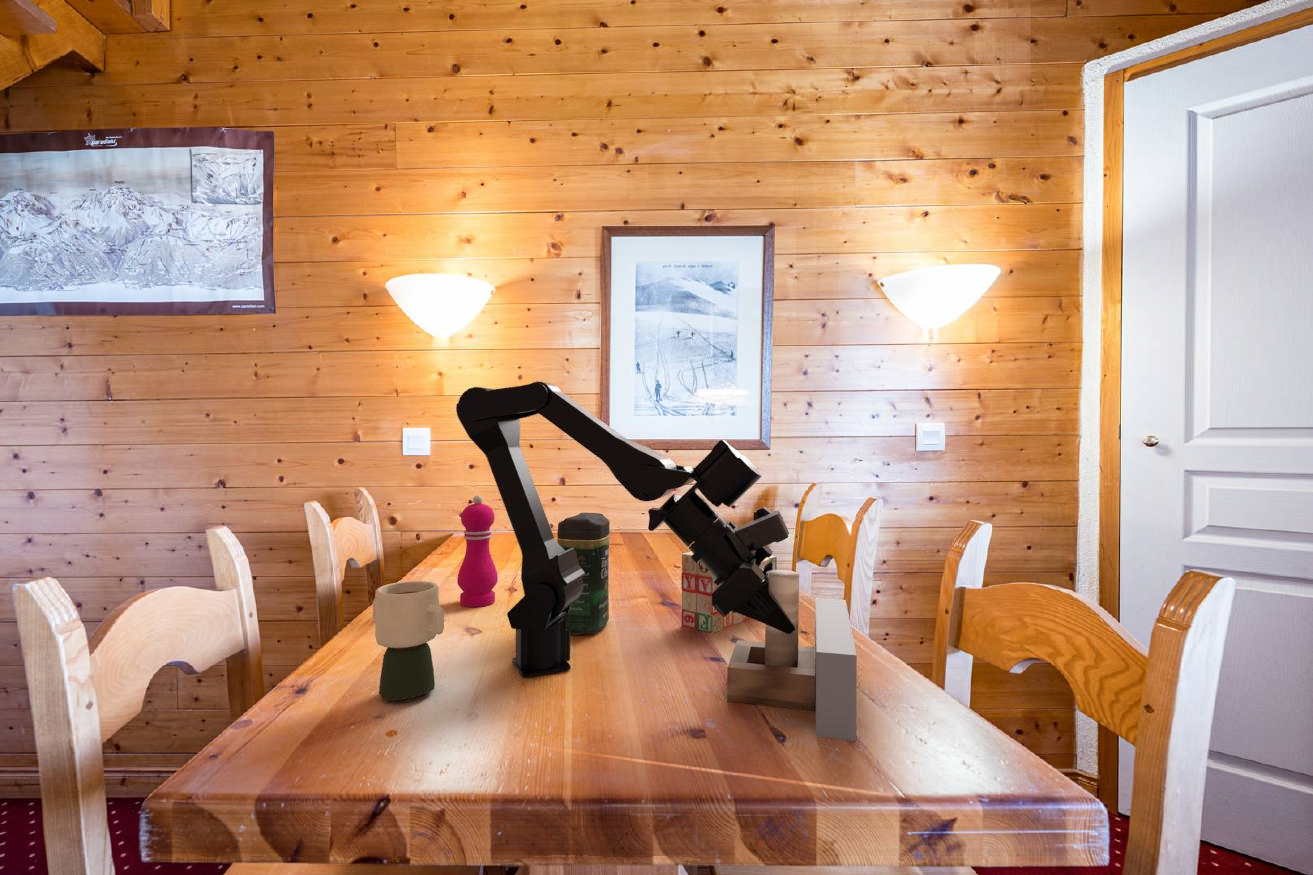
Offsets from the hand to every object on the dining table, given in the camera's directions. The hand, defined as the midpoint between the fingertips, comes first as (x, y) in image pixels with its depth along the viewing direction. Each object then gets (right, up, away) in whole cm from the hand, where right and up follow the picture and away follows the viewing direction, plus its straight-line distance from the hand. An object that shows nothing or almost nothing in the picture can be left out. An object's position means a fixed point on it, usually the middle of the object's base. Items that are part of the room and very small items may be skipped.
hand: (793, 626), depth 77 cm
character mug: (-47, -8, -1) cm, 48 cm away
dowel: (-1, -7, 0) cm, 7 cm away
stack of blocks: (-4, -8, +33) cm, 34 cm away
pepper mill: (-50, -8, +40) cm, 64 cm away
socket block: (-2, -8, +1) cm, 8 cm away
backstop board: (+5, -8, -1) cm, 9 cm away
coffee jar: (-29, -8, +26) cm, 39 cm away
